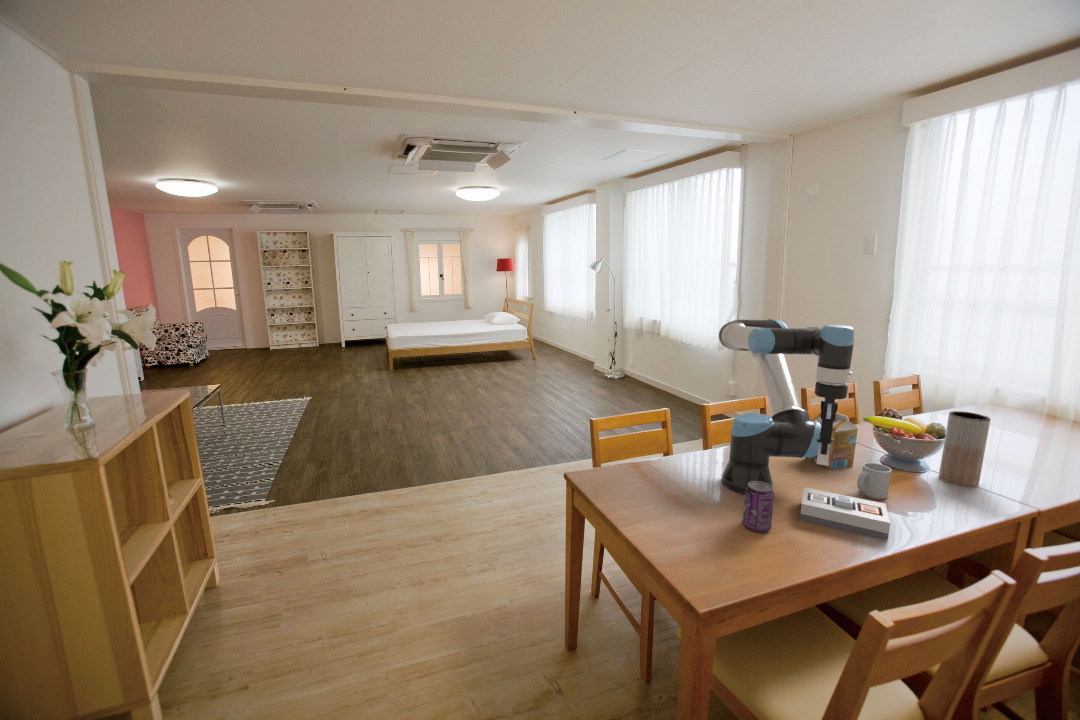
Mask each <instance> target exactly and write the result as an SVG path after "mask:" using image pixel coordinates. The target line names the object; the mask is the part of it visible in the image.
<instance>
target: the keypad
mask: <svg viewBox="0 0 1080 720" xmlns="http://www.w3.org/2000/svg"><path fill="white" fill-rule="evenodd" d="M811 494H814V495H819V496H824V497H827V504H823V503H819V502H814V501H810V497H811ZM836 494H837V495H842V496H847V497H852V498H853V509H847V508H842V507H837V506H835V505H834V504H835V495H836ZM801 497H802V499H801V507H800V516H799V521H802V522H806V523H810V524H815V525H818V526H823V527H828V528H831V529H832V528H833V529H837V530H840V531H844V532H849V533H851V534H852V533H854V534H857V535H861V536H862V535H863V536H865V537H869V538H873V539H878V538H879V539H878V540H882V539H883V541H887V542H888V540H889V534H890V528H891V527H890V526H891V519H890V517H889V516H890V515H889V511H888V509H887V504H886V503H883V502H880V501H879V502H878V501H875V500H874V501H873V500H870V499H864V498H859V497H854V496H851V495H849V496H848V495H844V494H841V493H840V494H839V493H834V492H828V491H825V490H820V489H816V488H815V489H814V488H809V487H803V489H802V496H801ZM860 504H862V505H867V506H872V507H877V508H878V510H879V515H875V514H870V513H866V512H861V511H860Z"/></svg>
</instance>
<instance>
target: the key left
mask: <svg viewBox="0 0 1080 720" xmlns="http://www.w3.org/2000/svg"><path fill="white" fill-rule="evenodd" d="M810 501H814V502H819V503H823V504H827V497H824V496H819V495H814V494H811V497H810Z"/></svg>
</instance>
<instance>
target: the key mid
mask: <svg viewBox="0 0 1080 720" xmlns="http://www.w3.org/2000/svg"><path fill="white" fill-rule="evenodd" d="M835 494H836V495H835V504H834V505H835V506H837V507H842V508H847V509H853V498H852V497H853V496H850V497H847V496H848V495H845V496H842V495H843V494H840V495H837V494H838V493H835Z"/></svg>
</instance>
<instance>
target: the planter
mask: <svg viewBox="0 0 1080 720" xmlns="http://www.w3.org/2000/svg"><path fill="white" fill-rule="evenodd" d="M990 424H991V418H990V417H989V416H988V415H985V414H981V413H976V412H971V411H963V410H962V411H961V410H953V411H949V413H948V419H947V423H946V429H945V430H946V431H945V434H944V435H945V436H944V443H943V449H942V453H941V454H942V455H941V461H940V466H939V473H938V477H939V479H941V480H942V481H944V482H946V483H949V484H952V485H955V486H959V487H966V488H976V487H978V486H979V485H980V480H981V475H982V469H983V463H984V457H985V453H986V446H987V441H988V436H989V430H990Z"/></svg>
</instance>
